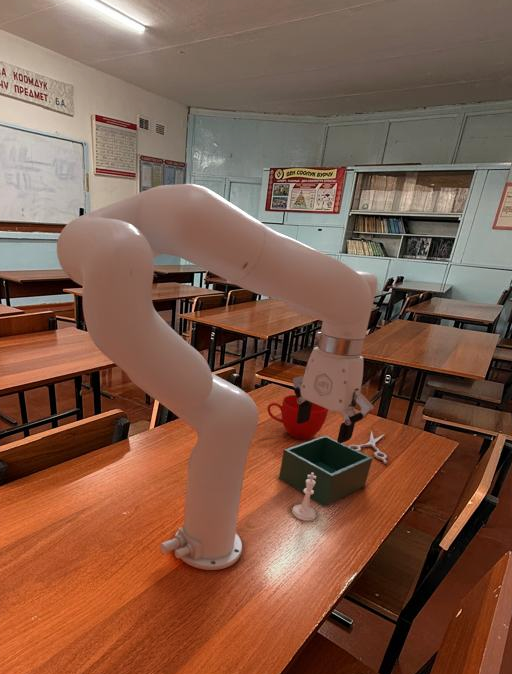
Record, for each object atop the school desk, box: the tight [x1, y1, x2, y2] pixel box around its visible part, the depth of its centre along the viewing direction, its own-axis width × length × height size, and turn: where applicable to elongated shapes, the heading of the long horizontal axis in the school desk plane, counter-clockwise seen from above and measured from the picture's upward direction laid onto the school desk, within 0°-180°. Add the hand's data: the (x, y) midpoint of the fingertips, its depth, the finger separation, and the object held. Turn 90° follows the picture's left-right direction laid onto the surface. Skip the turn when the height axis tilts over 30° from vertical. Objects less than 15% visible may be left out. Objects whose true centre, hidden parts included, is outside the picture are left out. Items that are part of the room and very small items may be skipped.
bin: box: [278, 435, 374, 507], centre depth 103 cm, size 16×14×8 cm
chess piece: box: [291, 472, 317, 522], centre depth 90 cm, size 5×5×10 cm
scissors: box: [348, 429, 388, 465], centre depth 125 cm, size 11×1×20 cm
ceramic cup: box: [267, 394, 329, 440], centre depth 127 cm, size 13×17×10 cm
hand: (322, 431), depth 85 cm, fingers open, 9 cm apart
